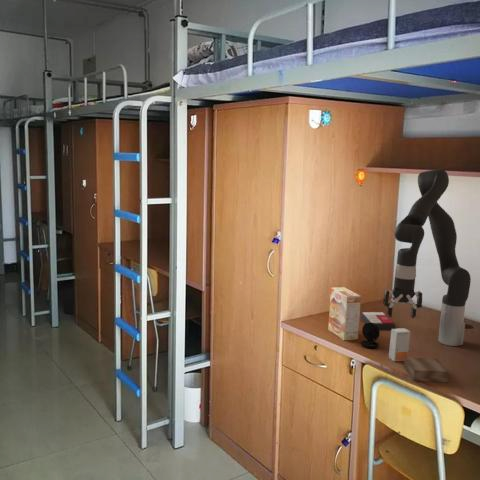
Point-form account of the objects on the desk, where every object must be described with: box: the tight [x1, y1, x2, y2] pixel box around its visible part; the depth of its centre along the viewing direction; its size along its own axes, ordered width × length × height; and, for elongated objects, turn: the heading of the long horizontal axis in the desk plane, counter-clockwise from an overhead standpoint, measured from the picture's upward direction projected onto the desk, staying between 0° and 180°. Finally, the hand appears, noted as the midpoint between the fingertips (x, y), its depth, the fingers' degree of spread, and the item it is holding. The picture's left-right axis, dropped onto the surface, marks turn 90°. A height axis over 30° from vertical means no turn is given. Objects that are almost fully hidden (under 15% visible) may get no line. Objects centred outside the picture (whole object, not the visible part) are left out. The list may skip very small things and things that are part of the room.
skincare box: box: [388, 327, 411, 362], centre depth 212 cm, size 6×4×12 cm
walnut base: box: [403, 357, 449, 383], centre depth 199 cm, size 12×12×4 cm
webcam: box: [360, 322, 380, 350], centre depth 226 cm, size 8×8×10 cm
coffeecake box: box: [328, 286, 362, 341], centre depth 239 cm, size 15×7×20 cm, turn 18°
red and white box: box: [360, 311, 395, 331], centre depth 256 cm, size 11×4×15 cm
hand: (401, 317), depth 211 cm, fingers open, 8 cm apart
